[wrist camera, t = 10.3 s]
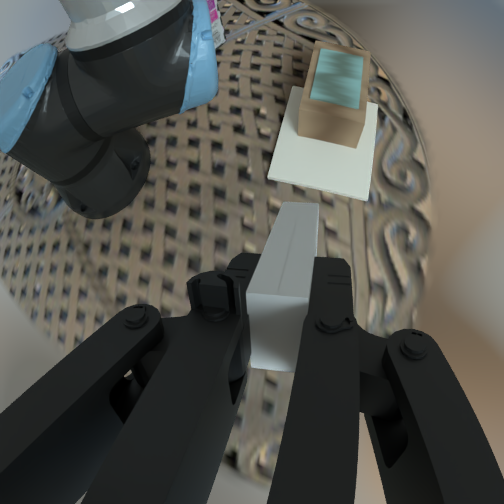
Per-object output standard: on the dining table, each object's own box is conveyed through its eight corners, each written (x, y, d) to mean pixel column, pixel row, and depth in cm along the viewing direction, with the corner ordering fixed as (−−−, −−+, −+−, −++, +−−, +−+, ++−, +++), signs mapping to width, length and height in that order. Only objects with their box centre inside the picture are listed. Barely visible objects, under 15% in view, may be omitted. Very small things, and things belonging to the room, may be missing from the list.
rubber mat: (267, 178, 40) (267, 176, 39) (292, 88, 43) (292, 85, 42) (366, 201, 38) (367, 199, 37) (376, 106, 41) (377, 104, 40)
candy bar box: (228, 40, 47) (211, -32, 31) (211, 56, 46) (188, -18, 30) (182, 29, 49) (159, -34, 33) (166, 44, 48) (137, -20, 32)
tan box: (298, 107, 34) (315, 39, 37) (297, 135, 40) (313, 67, 43) (365, 122, 33) (370, 50, 35) (355, 148, 39) (363, 78, 42)
